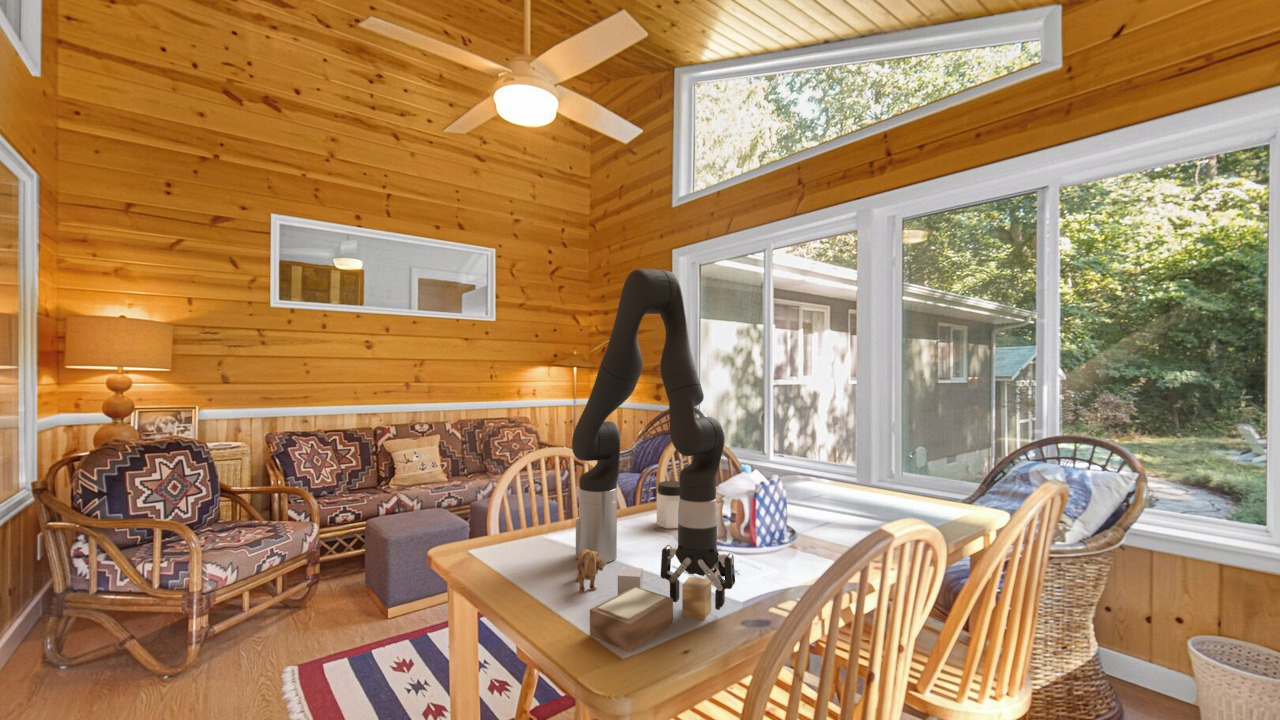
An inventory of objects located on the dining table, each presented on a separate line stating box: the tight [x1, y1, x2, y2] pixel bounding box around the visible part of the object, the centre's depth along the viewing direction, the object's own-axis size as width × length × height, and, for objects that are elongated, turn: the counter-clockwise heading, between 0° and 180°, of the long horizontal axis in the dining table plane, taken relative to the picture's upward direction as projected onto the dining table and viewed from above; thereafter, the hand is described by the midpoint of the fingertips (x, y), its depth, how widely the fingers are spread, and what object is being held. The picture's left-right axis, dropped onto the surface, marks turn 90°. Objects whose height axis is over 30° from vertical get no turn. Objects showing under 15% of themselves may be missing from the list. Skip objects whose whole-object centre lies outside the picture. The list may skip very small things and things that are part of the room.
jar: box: [656, 480, 680, 530], centre depth 170 cm, size 9×8×12 cm
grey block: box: [617, 566, 644, 595], centre depth 118 cm, size 4×4×6 cm
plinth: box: [589, 587, 674, 653], centre depth 106 cm, size 9×13×5 cm
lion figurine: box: [575, 549, 607, 594], centre depth 126 cm, size 15×5×9 cm, turn 19°
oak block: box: [681, 576, 712, 621], centre depth 113 cm, size 4×4×6 cm
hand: (697, 604), depth 113 cm, fingers open, 8 cm apart
